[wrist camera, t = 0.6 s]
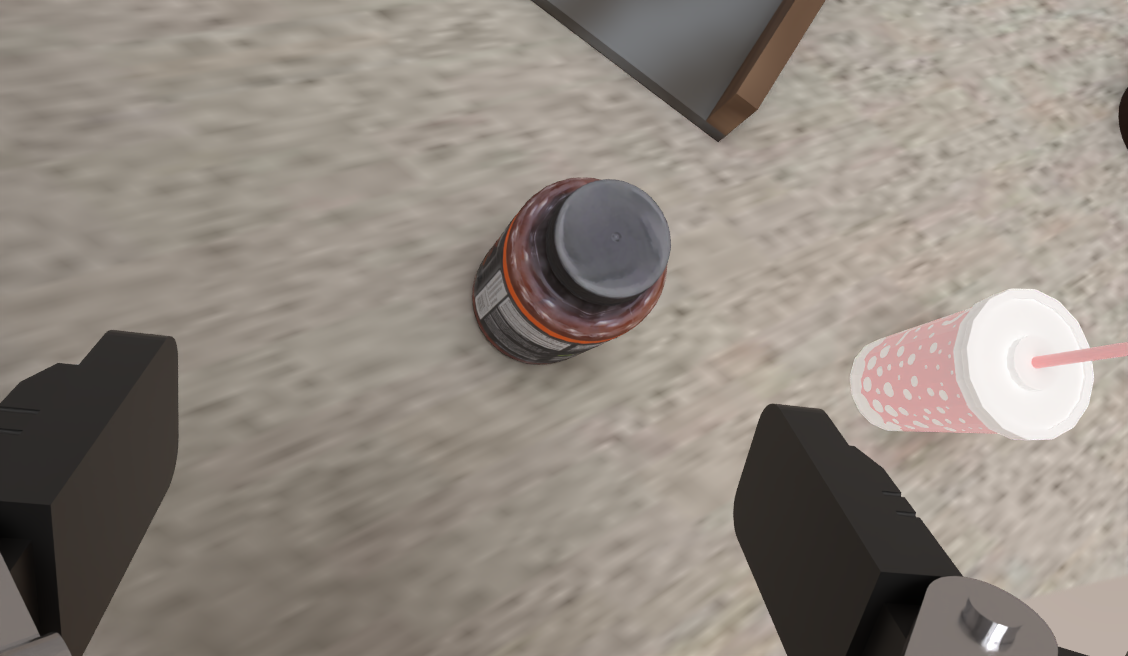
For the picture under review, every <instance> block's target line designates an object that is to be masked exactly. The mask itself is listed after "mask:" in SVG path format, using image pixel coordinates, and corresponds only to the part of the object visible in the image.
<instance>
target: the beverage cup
mask: <svg viewBox="0 0 1128 656" xmlns="http://www.w3.org/2000/svg"><path fill="white" fill-rule="evenodd" d="M1122 356H1128V342H1124V343H1118V344H1112V345H1105V346H1099V347H1093V348H1090V347H1089V344H1088V342H1087V340H1086V338H1085V336H1084V333H1083V331H1082V329H1081V327H1080V325H1079V322H1078V321H1077V320H1076V319H1075V318H1074V317H1073V316H1072V315H1071V313H1070V312H1069V311H1068V310H1067V309H1066V308H1065V307H1064V306H1063V305H1062V304H1061V303H1060V302H1059V301H1058V300H1056V299H1054V298H1052V297H1050V296H1048V295H1046V294H1044V293H1042V292H1040V291H1038V290H1036V289H1008V290H1005V291H1003V292H1001V293H996V294H994V295H992V296H990V297H988V298H986V299H984V300H982V301H979V302H977V303H975V305H974V306H973V307H972V308H970V309H967V310H964V311H961V312H958V313H955V314H952V315H949V316H946V317H943V318H940V319H937V320H934V321H931V322H928V323H925V324H922V325H919V326H916V327H914V328H911V329H908V330H905V331H902V332H899V333H896V334H893V335H890V336H887V337H884V338H881V339H878V340H876V341H874V342H872V343H870V344H868V345H866V346H864V348H863V349H862V350H861V351H860V353H859V354H858V355H857V356H856V358H855V359H854V363H853V366H852V370H851V373H850V384H851V394H852V397H853V399H854V401H855V403H856V406H857V408H858V410H859V412H860V413H861V414H862V415H863V416H864V417H865V418H866V419H867V420H868V421H869V422H870V423H871V424H873V425H875V426H877V427H880V428H882V429H884V430H886V431H921V432H960V433H998V434H1001V435H1003V436H1005V437H1007V438H1009V439H1012V440H1048V439H1054V438H1056V437H1058V436H1059V435H1061V434H1063V433H1065V432H1066V431H1068V430H1070V429H1072V428H1073V427H1074V426H1075V425H1076V423H1077V422H1078V420H1079V419H1080V417H1081V416H1082V414H1083V413H1084V411H1085V410H1086V408H1087V407H1088V405H1089V400H1090V396H1091V391H1092V386H1093V381H1094V373H1093V365H1092V361H1094V360H1101V359H1108V358H1115V357H1122Z"/></svg>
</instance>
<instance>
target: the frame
mask: <svg viewBox="0 0 1128 656" xmlns="http://www.w3.org/2000/svg"><path fill="white" fill-rule="evenodd" d="M532 1H533V2H535V3H536V4H537V5H539V6H540V7H541V8H543V9H544V10H545V11H547V12H548V13H549V14H550V15H552V16H553V17H554V18H556V19H557V20H558V21H560V22H561V23H562V24H564V25H565V26H566V27H568V28H569V29H570V30H572V31H573V32H574V33H576V34H577V35H578V36H579V37H581V38H582V39H583V40H585V41H586V42H587V43H589V44H590V45H591V46H593V47H594V48H595V49H597V50H598V51H599V52H601V53H602V54H603V55H604V56H606V57H607V58H608V59H610V60H611V61H612V62H614V63H615V64H616V65H618V66H619V67H620V68H622V69H623V70H624V71H626V72H627V73H628V74H630V75H631V76H632V77H633V78H635V79H636V80H637V81H639V82H640V83H641V84H643V85H644V86H645V87H647V88H648V89H649V90H651V91H652V92H653V93H655V94H656V95H657V96H659V97H660V98H661V99H662V100H664V101H665V102H666V103H668V104H669V105H670V106H672V107H673V108H674V109H676V110H677V111H678V112H680V113H681V114H682V115H684V116H685V117H686V118H688V119H689V120H690V121H691V122H693V123H694V124H695V125H697V126H698V127H699V128H701V129H702V130H703V131H705V132H706V133H707V134H709V135H710V136H711V137H713V138H714V139H715V140H717V141H718V142H719V141H720V140H721V139H722V138H724V137H725V136H726V135H727V134H728V133H730V132H731V131H732V130H733V129H735V128H736V127H737V126H738V125H739V124H741V123H742V122H743V121H744V120H745V119H747V118H748V117H749V116H750V115H752V114H753V113H754V112H755V111H756V110H758V108H759V106H760V105H761V103H762V102H763V100H764V98H765V97H766V95H767V94H768V92H769V90H770V89H771V87H772V85H773V84H774V82H775V81H776V79H777V77H778V76H779V74H780V73H781V71H782V69H783V68H784V66H785V64H786V63H787V61H788V60H789V58H790V56H791V55H792V53H793V52H794V50H795V48H796V47H797V45H798V43H799V42H800V40H801V39H802V37H803V35H804V34H805V32H806V31H807V29H808V27H809V26H810V24H811V23H812V21H813V19H814V18H815V16H816V14H817V13H818V11H819V10H820V8H821V6H822V5H823V3H824V2H825V0H532Z"/></svg>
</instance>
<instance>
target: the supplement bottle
mask: <svg viewBox="0 0 1128 656" xmlns="http://www.w3.org/2000/svg"><path fill="white" fill-rule="evenodd" d="M670 250H671V239H670V231H669V227H668V224H667V221H666V219H665V217H664V214H663V212H662V211H661V209H660V208H659V206H658V205H657V204H656V202H655V201H654V200H653V199H652V198H651V197H650V196H649V195H648V194H647V193H645V192H644V191H643V190H641V189H640V188H638V187H636V186H634V185H631V184H629V183H627V182H624V181H619V180H610V179H606V180H599V179H595V178H570V179H566V180H563V181H559V182H556V183H554V184H552V185H549V186H546V187H545V188H543V189H542V190H541V191H539V192H538V193H536V194H535V195H533V197H532V198H531V199H529V200H528V201H527V202H526V204H525V205H524V206H523V207H522V208H521V210H520V211H519V212H518V214H517V215H516V216H515V217H514V218H513V220H512V221H511V222H510V224H509V225H508V226H507V228H506V229H505V231H504V232H503V234H502V235H501V236H500V238H499V239H498V240H497V241H496V243H495V244H494V245H493V247H492V248H491V249H490V250H489V252H488V253H487V255H486V256H485V258H484V260H483V261H482V263H481V264H480V267H479V269H478V271H477V274H476V277H475V281H474V285H473V295H472V299H473V307H474V312H475V316H476V318H477V322H478V324H479V326H480V328H481V330H482V332H483V333H484V335H485V336H486V338H487V339H488V340H489V341H490V342H491V343H492V344H493V345H494V346H495V347H496V348H497V349H498V350H500V351H501V352H502V353H504V354H505V355H507V356H509V357H511V358H513V359H516V360H518V361H521V362H525V363H529V364H551V363H556V362H560V361H563V360H566V359H569V358H571V357H574V356H576V355H578V354H580V353H583V352H585V351H587V350H589V349H592V348H594V347H597V346H599V345H601V344H603V343H605V342H607V341H610V340H612V339H614V338H617V337H618V336H620V335H622V334H624V333H626V332H628V331H629V330H631V329H633V328H634V327H635V326H636V325H638V324H639V323H640V322H641V321H642V320H643V319H644V318H645V317H646V316H647V315H648V314H649V313H650V311H651V310H652V309H653V307H654V306H655V305H656V303H657V301H658V299H659V297H660V295H661V293H662V290H663V287H664V283H665V279H666V274H667V263H668V259H669V255H670Z"/></svg>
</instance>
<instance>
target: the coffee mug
mask: <svg viewBox="0 0 1128 656" xmlns="http://www.w3.org/2000/svg"><path fill="white" fill-rule="evenodd" d="M1119 124H1120V130H1121V134H1122V137H1123V140H1124V142H1125V144H1126V147H1127V149H1128V88H1127V89H1126V91H1125V93H1124V94H1123V96H1122V99H1121V103H1120V106H1119Z"/></svg>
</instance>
